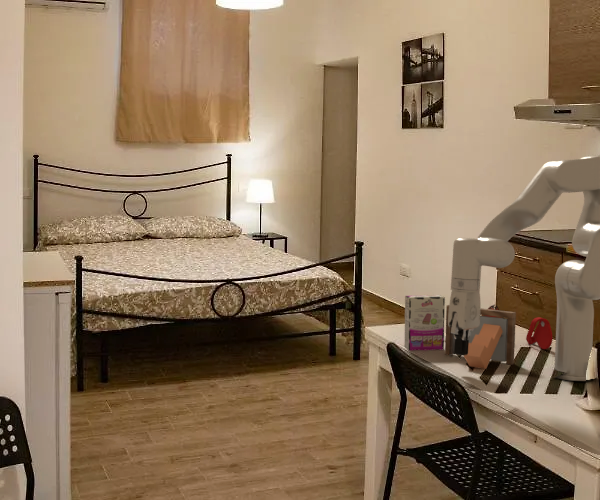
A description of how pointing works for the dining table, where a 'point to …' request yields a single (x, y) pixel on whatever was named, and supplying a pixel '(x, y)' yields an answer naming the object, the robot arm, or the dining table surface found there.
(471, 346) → the orange stepped block
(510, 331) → the brown door frame
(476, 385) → the dining table surface
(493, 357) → the door
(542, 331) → the tracker holder
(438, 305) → the candy bar box
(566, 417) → the dining table surface
